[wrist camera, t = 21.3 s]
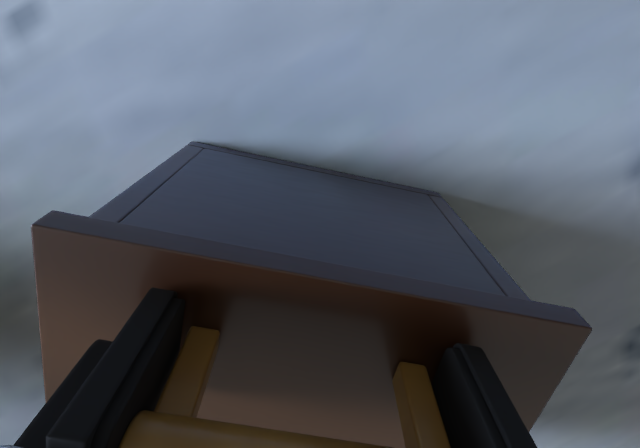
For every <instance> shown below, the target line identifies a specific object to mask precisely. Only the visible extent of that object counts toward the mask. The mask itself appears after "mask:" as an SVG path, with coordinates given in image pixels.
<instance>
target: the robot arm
mask: <svg viewBox="0 0 640 448" xmlns="http://www.w3.org/2000/svg"><path fill="white" fill-rule="evenodd" d="M184 308H185V300H184V299H178V294H177V292H176V291H170V290H165V289H159V288H154V287H152V288H151V289H150V290H149V291H148V292H147V294H146V295H145V297H144V298H143V300H142V301H141V302H140V304H139V305H138V307H137V308H136V309H135V311H134V312H133V314H132V315H131V316H130V318H129V319H128V321H127V322H126V324H125V325H124V326H123V328H122V329H121V331H120V332H119V333H118V335H117V336H116V338H115V339H114V341H107V340H101V339H98V340H96V341H95V342H94V343H93V344H92V345H91V346H90V347H89V348H88V350H87V351H86V352H85V353H84V355H83V356H82V357H81V359H80V360H79V361H78V362H77V364H76V365H75V366H74V368H73V369H72V370H71V372H70V373H69V374H68V375H67V377H66V378H65V379H64V381H63V382H62V383H61V384H60V386H59V387H58V388H57V390H56V391H55V392H54V394H53V395H52V396H51V397H50V399H49V400H48V401H47V403H46V404H45V405H44V406H43V408H42V409H41V410H40V412H39V413H38V414H37V416H36V417H35V418H34V419H33V421H32V422H31V423H30V425H29V426H28V427H27V428H26V430H25V431H24V432H23V434H22V435H21V436H20V438H19V439H18V440H17V441H16V443H15V444H14V445H0V448H118V447H119V445H120V442H121V440H122V438H123V436H124V434H125V432H126V430H127V428H128V426H129V424H130V423H131V421H132V420H133V418H134V417H135V415H136V414H137V413H138V412H140V411H143V410H148V411H154V409H155V407H156V405H157V402H158V400H159V398H160V395H161V393H162V391H163V389H164V386H165V384H166V382H167V379H168V377H169V375H170V373H171V370H172V368H173V366H174V363H175V361H176V359H177V356H178V354H179V351H180V343H181V334H182V325H183V317H184ZM431 385H432V388H433V391H434V395H435V398H436V401H437V404H438V408H439V411H440V414H441V417H442V421H443V424H444V427H445V430H446V433H447V437H448V440H449V443H450V446H451V448H537V446H536V445H535V443H534V441H533V439H532V437H531V436H530V434H529V432H528V430H527V428H526V426H525V425H524V423H523V421H522V419H521V417H520V416H519V414H518V412H517V410H516V408H515V407H514V405H513V403H512V401H511V399H510V398H509V396H508V394H507V392H506V390H505V389H504V387H503V385H502V383H501V381H500V380H499V378H498V376H497V374H496V372H495V370H494V369H493V367H492V365H491V363H490V361H489V360H488V358H487V356H486V354H485V352H484V351H483V349H482V348H480V347H477V346H472V345H466V344H461V343H456V344H455V345H454V346H453V347H452V348H447V349H446V350H445V352H444V354H443V357H442V359H441V362H440V364H439V367H438V369H437V371H436V374H435V376H434V379H433V381H432V384H431Z"/></svg>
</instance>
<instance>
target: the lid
mask: <svg viewBox="0 0 640 448" xmlns="http://www.w3.org/2000/svg"><path fill="white" fill-rule="evenodd" d="M31 233H32V245H33V257H34V269H35V280H36V292H37V304H38V316H39V328H40V340H41V352H42V364H43V375H44V387H45V399H46V403H47V401H48V400H49V399H50V397H51V396H52V395H53V394H54V392H55V391H56V390H57V388H58V387H59V386H60V384H61V383H62V382H63V381H64V379H65V378H66V377H67V375H68V374H69V373H70V372H71V370H72V369H73V368H74V366H75V365H76V364H77V362H78V361H79V360H80V359H81V357H82V356H83V355H84V353H85V352H86V351H87V350H88V348H89V347H90V346H91V345H92V344H93V343H94V342H95V341H96V340H98V339H101V340H107V341H114V339H115V338H116V336H117V335H118V333H119V332H120V331H121V329H122V328H123V326H124V325H125V324H126V322H127V321H128V319H129V318H130V316H131V315H132V314H133V312H134V311H135V309H136V308H137V307H138V305H139V304H140V302H141V301H142V300H143V298H144V297H145V295H146V294H147V292H148V291H149V290H150V289H151V288H152V287H154V288H159V289H165V290H170V291H176V292H177V294H178V299H184V300H185V308H184V317H183V325H182V334H181V343H180V351H179V354H178V356H177V359H176V361H175V363H174V366H173V368H172V370H171V373H170V375H169V377H168V379H167V382H166V384H165V386H164V389H163V391H162V393H161V395H160V398H159V400H158V402H157V405H156V407H155V409H154V411H148V410H143V411H140V412H138V413H137V414H136V415H135V417H134V418H133V420H132V421H131V423H130V424H129V426H128V428H127V430H126V432H125V434H124V436H123V438H122V440H121V442H120V445H119V447H118V448H451V446H450V443H449V440H448V437H447V433H446V430H445V427H444V424H443V421H442V417H441V414H440V411H439V408H438V404H437V401H436V398H435V395H434V391H433V388H432V385H431V384H432V381H433V379H434V376H435V374H436V371H437V369H438V367H439V364H440V362H441V359H442V357H443V354H444V352H445V350H446V349H447V348H452V347H453V346H454V345H455V344H456V343H461V344H466V345H472V346H477V347H480V348H482V349H483V351H484V352H485V354H486V356H487V358H488V360H489V361H490V363H491V365H492V367H493V369H494V370H495V372H496V374H497V376H498V378H499V380H500V381H501V383H502V385H503V387H504V389H505V390H506V392H507V394H508V396H509V398H510V399H511V401H512V403H513V405H514V407H515V408H516V410H517V412H518V414H519V416H520V417H521V419H522V421H523V423H524V425H525V426H526V428H527V430H528V432H529V431H530V430H531V428H532V427H533V425H534V423H535V422H536V420H537V418H538V417H539V415H540V414H541V412H542V410H543V409H544V407H545V405H546V404H547V402H548V401H549V399H550V397H551V396H552V394H553V392H554V391H555V389H556V388H557V386H558V384H559V383H560V381H561V379H562V378H563V376H564V375H565V373H566V371H567V370H568V368H569V366H570V365H571V363H572V362H573V360H574V358H575V357H576V355H577V353H578V352H579V350H580V349H581V347H582V345H583V344H584V342H585V340H586V339H587V337H588V336H589V334H590V332H591V331H592V328H591V326H590V325H589V324H588V323H587V322H586V321H585V320H584V319H583V318H582V317H581V315H580V314H579V313H578V312H577V311H576V310H575V309H573V308H568V307H562V306H557V305H552V304H547V303H541V302H536V301H531V300H525V299H520V298H515V297H509V296H504V295H499V294H494V293H488V292H483V291H478V290H472V289H467V288H462V287H456V286H451V285H446V284H441V283H435V282H430V281H425V280H419V279H414V278H409V277H403V276H398V275H393V274H388V273H382V272H377V271H372V270H366V269H361V268H356V267H351V266H345V265H340V264H335V263H329V262H324V261H319V260H313V259H308V258H303V257H298V256H292V255H287V254H282V253H276V252H271V251H266V250H260V249H255V248H250V247H245V246H239V245H234V244H229V243H223V242H218V241H213V240H207V239H202V238H197V237H192V236H186V235H181V234H176V233H170V232H165V231H160V230H154V229H149V228H144V227H139V226H133V225H128V224H123V223H117V222H112V221H107V220H102V219H96V218H91V217H86V216H80V215H75V214H70V213H64V212H59V211H51V212H49V213H48V214H46V215H45V216H43V217H42V218H40V219H39V220H37V221H36V222H34V223H33V224H32V225H31Z"/></svg>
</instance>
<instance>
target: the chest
mask: <svg viewBox="0 0 640 448" xmlns="http://www.w3.org/2000/svg"><path fill="white" fill-rule="evenodd" d="M89 217H91V218H96V219H102V220H107V221H112V222H117V223H123V224H128V225H133V226H139V227H144V228H149V229H154V230H160V231H165V232H170V233H176V234H181V235H186V236H192V237H197V238H202V239H207V240H213V241H218V242H223V243H229V244H234V245H239V246H245V247H250V248H255V249H260V250H266V251H271V252H276V253H282V254H287V255H292V256H298V257H303V258H308V259H313V260H319V261H324V262H329V263H335V264H340V265H345V266H351V267H356V268H361V269H366V270H372V271H377V272H382V273H388V274H393V275H398V276H403V277H409V278H414V279H419V280H425V281H430V282H435V283H441V284H446V285H451V286H456V287H462V288H467V289H472V290H478V291H483V292H488V293H494V294H499V295H504V296H509V297H515V298H520V299H525V300H530V299H529V298H528V297H527V295H526V294H525V293H524V292H523V291H522V290H521V288H520V287H519V286H518V285H517V284H516V283H515V281H514V280H513V279H512V278H511V277H510V276H509V274H508V273H507V272H506V271H505V270H504V269H503V268H502V266H501V265H500V264H499V263H498V262H497V261H496V259H495V258H494V257H493V256H492V255H491V254H490V252H489V251H488V250H487V249H486V248H485V247H484V245H483V244H482V243H481V242H480V241H479V240H478V238H477V237H476V236H475V235H474V234H473V233H472V231H471V230H470V229H469V228H468V227H467V226H466V224H465V223H464V222H463V221H462V220H461V219H460V217H459V216H458V215H457V214H456V213H455V212H454V210H453V209H452V208H451V207H450V206H449V205H448V204H447V202H446V201H445V200H444V199H443V198H442V196H441V195H440V194H439V193H437V192H432V191H428V190H423V189H418V188H413V187H408V186H404V185H399V184H394V183H389V182H384V181H380V180H375V179H370V178H365V177H361V176H356V175H351V174H346V173H341V172H337V171H332V170H327V169H322V168H317V167H313V166H308V165H303V164H298V163H293V162H289V161H284V160H279V159H274V158H269V157H265V156H260V155H255V154H250V153H246V152H241V151H236V150H231V149H226V148H222V147H217V146H212V145H207V144H202V143H198V142H190V143H189V144H188V145H186V146H185V147H184V148H182V149H181V150H180V151H178V152H177V153H176V154H174V155H173V156H171V157H170V158H169V159H167V160H166V161H165V162H163V163H162V164H160V165H159V166H158V167H156V168H155V169H154V170H152V171H151V172H150V173H148V174H147V175H145V176H144V177H143V178H141V179H140V180H139V181H137V182H136V183H134V184H133V185H132V186H130V187H129V188H128V189H126V190H125V191H124V192H122V193H121V194H119V195H118V196H117V197H115V198H114V199H113V200H111V201H110V202H108V203H107V204H106V205H104V206H103V207H102V208H100V209H99V210H98V211H96V212H95V213H93V214H92V215H91V216H89Z"/></svg>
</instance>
